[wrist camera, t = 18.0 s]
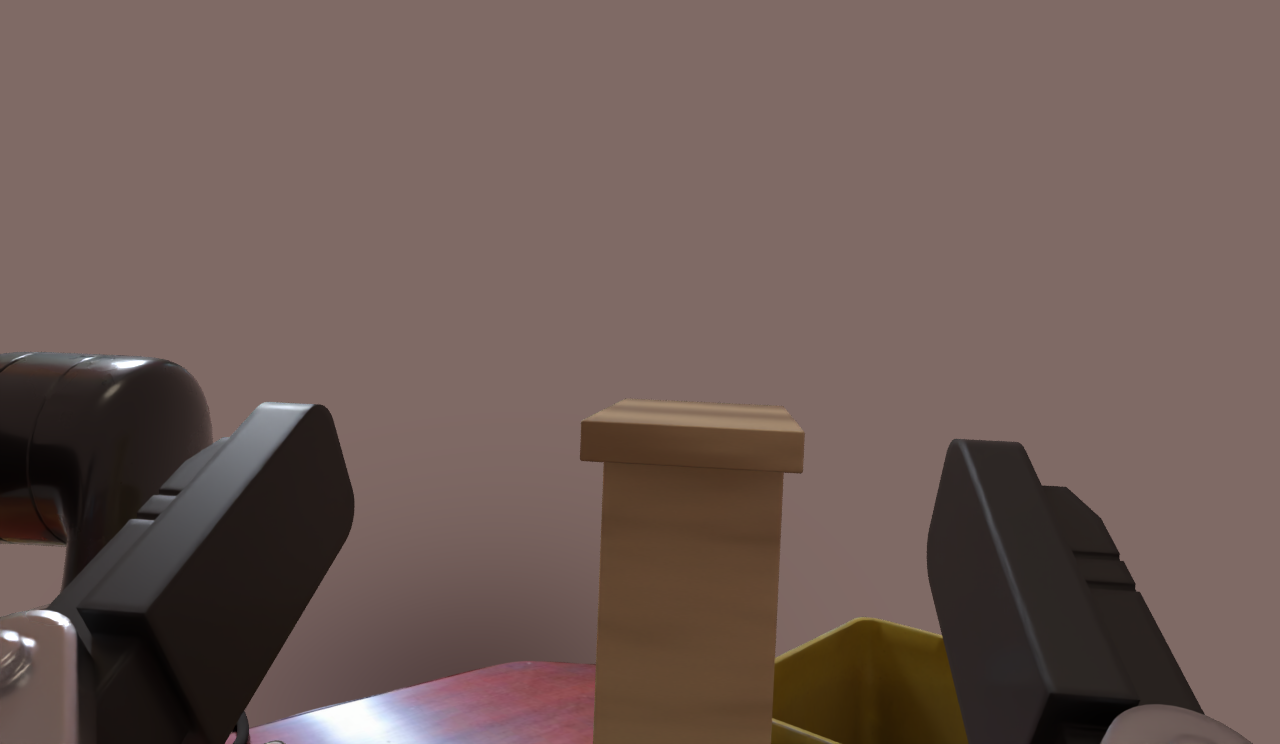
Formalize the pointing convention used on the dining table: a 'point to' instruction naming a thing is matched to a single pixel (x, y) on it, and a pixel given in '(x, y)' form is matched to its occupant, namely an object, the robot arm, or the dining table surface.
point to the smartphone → (275, 742)
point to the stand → (688, 568)
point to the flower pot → (867, 688)
